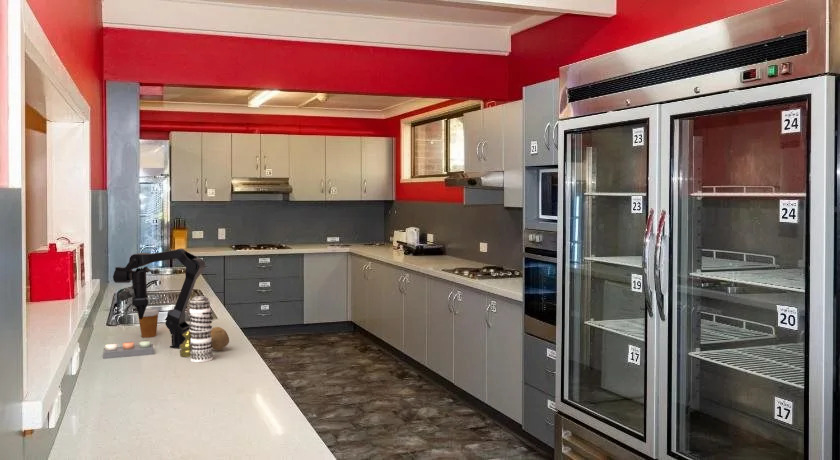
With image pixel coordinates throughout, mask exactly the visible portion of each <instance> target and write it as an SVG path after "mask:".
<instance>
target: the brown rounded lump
mask: <svg viewBox="0 0 840 460" xmlns="http://www.w3.org/2000/svg"><path fill="white" fill-rule="evenodd" d="M211 341H212V344H211V345H212V348H211V349H212V350H214V351H216V352H220V351H222V350H223V349H224V348H225V347H227V346H228V345H229V343H230V337H229V335H228V333H227V331H226V330H225V329H224V328H222V327H221V326H220V327H219V326H214V327H212V330H211Z"/></svg>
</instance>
